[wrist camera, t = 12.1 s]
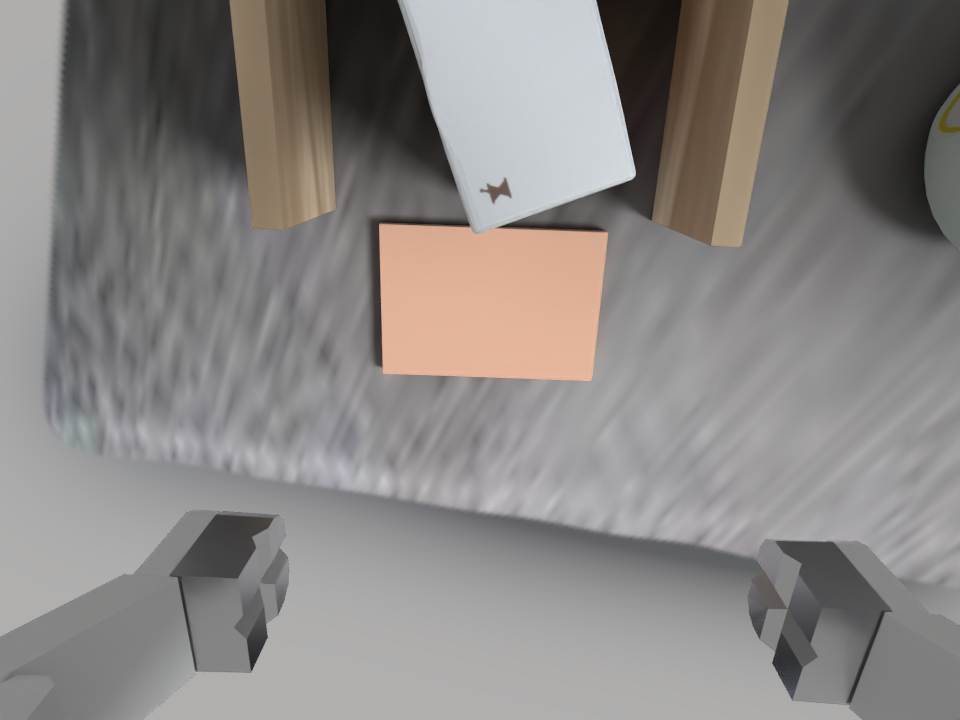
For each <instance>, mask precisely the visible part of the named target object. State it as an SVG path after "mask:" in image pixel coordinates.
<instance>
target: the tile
mask: <svg viewBox="0 0 960 720" xmlns="http://www.w3.org/2000/svg"><path fill="white" fill-rule="evenodd" d="M607 239H608V232H607V231H599V230H572V229H545V228H518V227H497V228H494V229H492V230H489V231H486V232H484V233H481V234H475V233H474V232H473V231H472V229H471V227H470V226H464V225H437V224H410V223H383V222H381V223H380V224H379V240H380V279H381V318H382V357H383V373H385V374H413V375H441V376H469V377H497V378H525V379H554V380H582V381H592V373H593V364H594V355H595V347H596V338H597V329H598V320H599V311H600V302H601V293H602V284H603V275H604V266H605V257H606V248H607Z"/></svg>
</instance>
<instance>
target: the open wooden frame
mask: <svg viewBox="0 0 960 720" xmlns="http://www.w3.org/2000/svg"><path fill="white" fill-rule="evenodd" d="M788 3H789V0H682V4H681V11H680V19H679V26H678V33H677V40H676V48H675V55H674V62H673V70H672V77H671V84H670V91H669V99H668V106H667V113H666V121H665V128H664V135H663V143H662V150H661V157H660V164H659V172H658V179H657V186H656V194H655V201H654V208H653V216H652V221H653V222H655V223H658V224H660V225H663V226H665V227H667V228H670V229H672V230H675V231H677V232H679V233H682V234H684V235H686V236H689V237H691V238H694V239H696V240H698V241H701V242H703V243H706V244H708V245H710V246H732V247H741V246H742V241H743V235H744V230H745V225H746V220H747V215H748V210H749V204H750V199H751V194H752V189H753V184H754V178H755V173H756V168H757V163H758V158H759V153H760V147H761V142H762V137H763V132H764V127H765V122H766V116H767V111H768V106H769V101H770V96H771V91H772V85H773V80H774V75H775V70H776V65H777V60H778V54H779V49H780V44H781V39H782V34H783V29H784V23H785V18H786V13H787V8H788ZM230 10H231V20H232V30H233V40H234V50H235V60H236V70H237V79H238V89H239V99H240V109H241V119H242V129H243V139H244V148H245V158H246V168H247V178H248V188H249V198H250V208H251V217H252V227H253V229H271V230H284V229H287V228H290V227H292V226H295V225H297V224H300V223H302V222H305V221H307V220H310V219H312V218H315V217H317V216H320V215H323V214H325V213H328V212H330V211H333V210H335V209H336V201H335V181H334V162H333V142H332V123H331V103H330V83H329V64H328V44H327V24H326V5H325V0H230Z"/></svg>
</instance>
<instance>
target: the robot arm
mask: <svg viewBox="0 0 960 720" xmlns="http://www.w3.org/2000/svg"><path fill="white" fill-rule="evenodd" d="M285 537H286V533H285V526H284V519H283V518H282V517H281V516H280V515H270V514H255V513H241V512H228V511H227V512H226V511H223V512H220V511H208V510H207V511H206V510H192V511H189V512H187V513H186V514H185V515H184V516H183V517H182V518H181V519H180V520H179V521H178V523H177V524H176V525H175V526H174V527H173V529H172V530H171V531H170V532H169V533H168V534H167V536H166V537H165V538H164V539H163V540H162V541H161V543H160V544H159V545H158V546H157V547H156V548H155V550H154V551H153V552H152V553H151V554H150V556H149V557H148V558H147V559H146V560H145V561H144V563H143V564H142V565H141V566H140V567H139V568H138V570H137V571H136V572H135V573H134V574H133V575H127V574H123V575H122V576H119V577H118V578H116V579H113V580H112V581H110V582H108V583H105V584H103V585H102V586H100V587H98V588H96V589H94V590H92V591H90V592H88V593H86V594H84V595H82V596H80V597H78V598H76V599H74V600H72V601H70V602H68V603H66V604H64V605H62V606H60V607H58V608H56V609H54V610H52V611H50V612H48V613H46V614H44V615H42V616H40V617H38V618H36V619H34V620H32V621H30V622H28V623H26V624H24V625H22V626H21V627H18V628H17V629H14V630H12V631H10V632H9V633H7V634H5V635H3V636H1V637H0V720H143V719H144V718H145V717H147V716H148V715H149V714H150V713H151V712H153V711H154V710H155V709H156V708H157V707H158V706H160V705H161V704H162V703H163V702H164V701H165V700H167V699H168V698H169V697H170V696H171V695H173V693H175V692H176V691H177V690H178V689H180V688H181V687H182V686H183V685H184V684H185V683H187V682H188V681H189V680H190V679H191V678H192V677H194V676H195V675H196V672H202V671H203V672H243V673H251V671H252V670H253V668H254V665H255V663H256V661H257V659H258V657H259V655H260V653H261V651H262V649H263V646H264V644H265V642H266V640H267V638H268V635H267V627H266V624H267V623H268V622H269V621H271V620H272V619H274V618H275V617H276V616H278V614H279V612H280V610H281V607H282V605H283V603H284V600H285V596H286V592H287V587H288V582H289V562H288V557H287V556H286V554H285V553H284V552H282V550H281V549H280V546H281V544H282V542H283V541H284V538H285ZM757 560H758V562H759V563H760V565H761V567H762V568H763V570H762V571H761V572H760V573H759V574H758V575H757V576H755V577H754V578H753V579H752V580H751V584H750V589H749V593H748V604H749V605H748V606H749V615H750V618H751V621H752V625H753V627H754V629H755V631H756V633H757V635H758V637H759V639H760V640H761V641H762V642H764V643H765V644H766V645H768V646H769V647H770V648H772V649H773V650H774V651H775V655H774V658H773V662H772V664H773V666H774V667H775V669H776V671H777V673H778V675H779V677H780V678H781V680H782V682H783V684H784V686H785V688H786V690H787V691H788V693H789V695H790V697H791V699H792V700H793V701H804V702H816V703H829V704H841V705H850V707H849V708H850V709H851V710H852V711H853V712H854V713H855V714H856V715H858V716H859V717H860V718H861V719H862V720H960V625H958V624H956V623H955V622H953V621H951V620H949V619H947V618H946V617H944V616H942V615H935V614H930V613H929V612H928V611H927V610H926V609H925V608H924V607H923V606H922V605H921V604H920V602H919V601H918V600H917V599H916V598H915V597H914V596H913V595H912V594H911V593H910V592H909V591H908V590H907V589H906V588H905V586H904V585H903V584H902V583H901V582H900V581H899V580H898V579H897V578H896V577H895V576H894V575H893V574H892V572H891V571H890V570H889V569H888V568H887V567H886V566H885V565H884V564H883V563H882V562H881V561H880V560H879V559H878V557H877V556H876V555H875V554H874V553H873V552H872V551H871V550H870V549H869V548H868V547H867V546H866V545H864V544H862V543H860V542H858V541H826V542H821V541H798V540H776V539H765V541H764V542H763V543H762V545H761V546H760V549H759V553H758V556H757ZM195 671H196V672H195Z"/></svg>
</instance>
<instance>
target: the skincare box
mask: <svg viewBox="0 0 960 720" xmlns="http://www.w3.org/2000/svg"><path fill="white" fill-rule="evenodd" d="M398 3H399V6H400V9H401V12H402V15H403V18H404V21H405V25H406V28H407V31H408V34H409V37H410V40H411V43H412V46H413V49H414V52H415V56H416V59H417V62H418V65H419V68H420V71H421V74H422V78H423V81H424V85H425V89H426V93H427V97H428V101H429V104H430V108H431V111H432V114H433V117H434V120H435V122H436V125H437V127H438V130H439V133H440V136H441V140H442V143H443V146H444V149H445V152H446V155H447V158H448V161H449V164H450V167H451V170H452V173H453V176H454V179H455V182H456V185H457V189H458V192H459V195H460V198H461V201H462V204H463V207H464V210H465V212H466V215H467V218H468V221H469V224H470V227H471V229H472V231H473V232H474V233H475V234H481V233H484V232H486V231H489V230H492V229H494V228H497V227H500V226H502V225H505V224H508V223H511V222H514V221H516V220H519V219H522V218H525V217H528V216H531V215H533V214H536V213H539V212H542V211H545V210H548V209H550V208H553V207H556V206H559V205H562V204H565V203H567V202H570V201H573V200H576V199H579V198H582V197H584V196H587V195H590V194H593V193H596V192H599V191H602V190H604V189H607V188H610V187H613V186H616V185H619V184H621V183H624V182H627V181H630V180H632V179H633V178H634V177H635V175H636V171H635V166H634V162H633V157H632V152H631V148H630V143H629V138H628V134H627V129H626V124H625V119H624V114H623V110H622V105H621V101H620V96H619V92H618V87H617V83H616V79H615V75H614V71H613V67H612V63H611V59H610V55H609V51H608V47H607V43H606V39H605V35H604V31H603V27H602V23H601V19H600V15H599V11H598V6H597V2H596V0H398Z"/></svg>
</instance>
